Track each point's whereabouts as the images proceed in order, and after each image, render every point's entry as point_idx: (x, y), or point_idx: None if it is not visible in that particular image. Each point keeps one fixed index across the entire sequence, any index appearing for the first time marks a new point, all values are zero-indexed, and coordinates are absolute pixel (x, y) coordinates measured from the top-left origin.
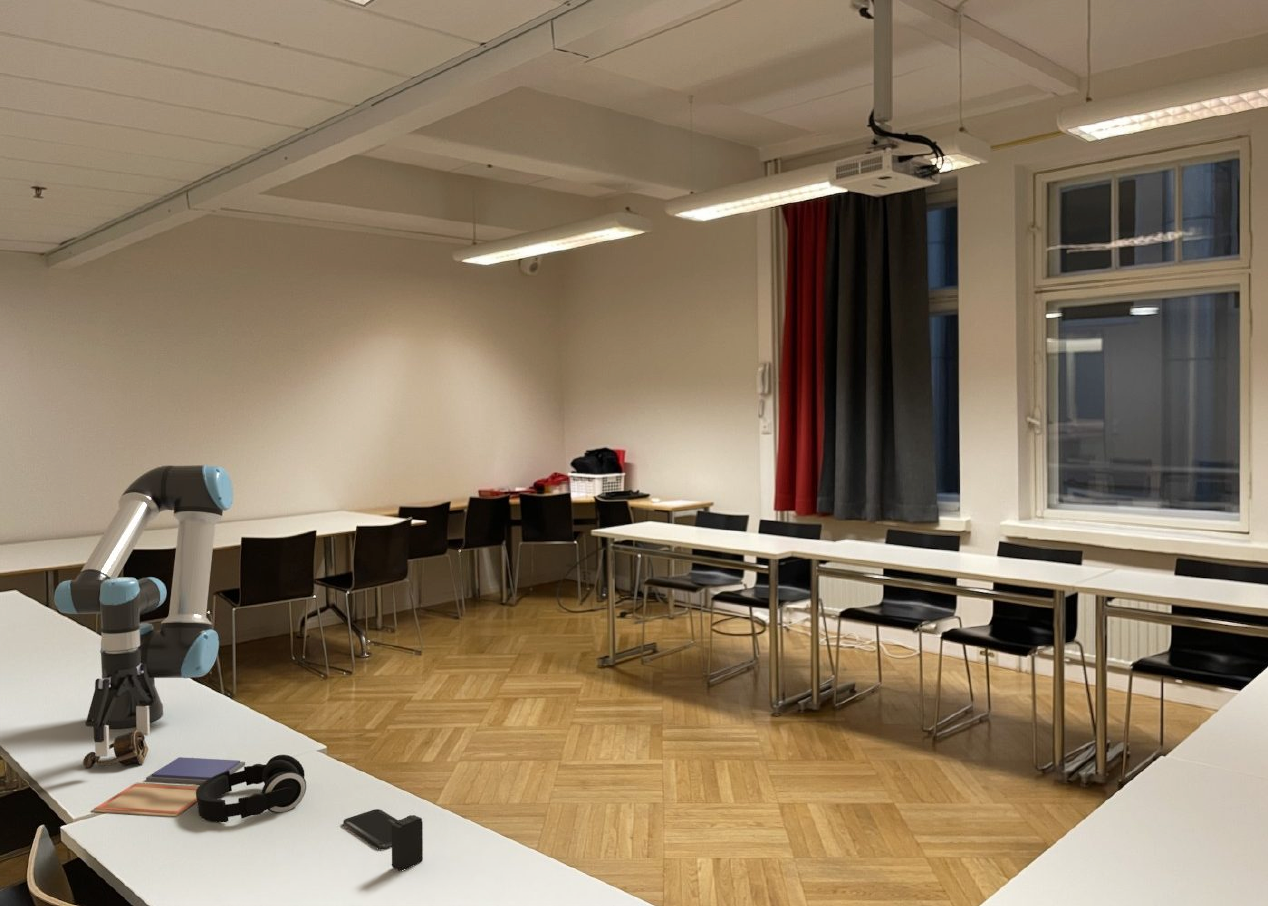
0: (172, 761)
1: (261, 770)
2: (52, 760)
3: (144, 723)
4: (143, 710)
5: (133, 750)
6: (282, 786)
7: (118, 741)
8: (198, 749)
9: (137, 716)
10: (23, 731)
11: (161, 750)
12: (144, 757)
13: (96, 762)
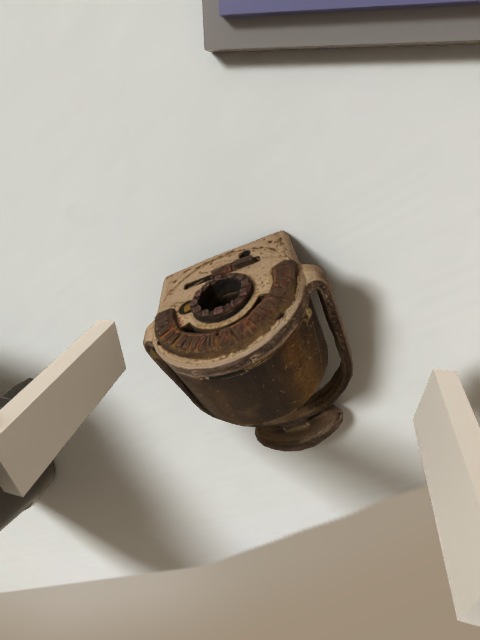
0: (296, 8)
1: None
2: (267, 498)
3: (80, 374)
4: (23, 440)
5: (309, 292)
6: None
7: (290, 397)
8: (34, 49)
9: (66, 435)
10: (131, 562)
11: (114, 244)
12: (240, 250)
13: (333, 400)
